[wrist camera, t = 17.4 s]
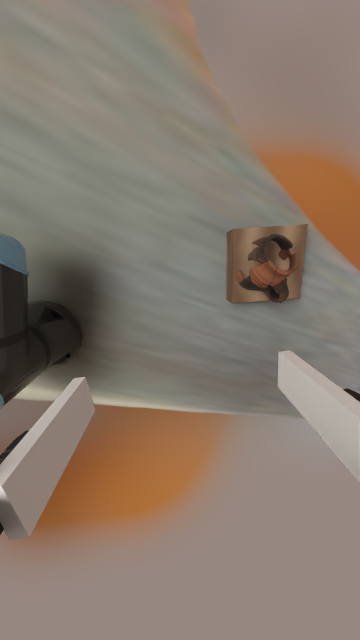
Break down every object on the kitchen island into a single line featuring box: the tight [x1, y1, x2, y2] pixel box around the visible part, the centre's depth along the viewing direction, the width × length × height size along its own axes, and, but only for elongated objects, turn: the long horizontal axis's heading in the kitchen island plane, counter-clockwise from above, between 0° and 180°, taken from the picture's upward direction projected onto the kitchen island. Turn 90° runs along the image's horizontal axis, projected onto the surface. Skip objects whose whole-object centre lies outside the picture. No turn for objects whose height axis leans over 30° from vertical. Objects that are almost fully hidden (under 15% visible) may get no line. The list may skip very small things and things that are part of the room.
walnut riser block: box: [227, 224, 308, 303], centre depth 40 cm, size 14×14×5 cm
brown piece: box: [234, 234, 298, 303], centre depth 36 cm, size 12×9×8 cm
